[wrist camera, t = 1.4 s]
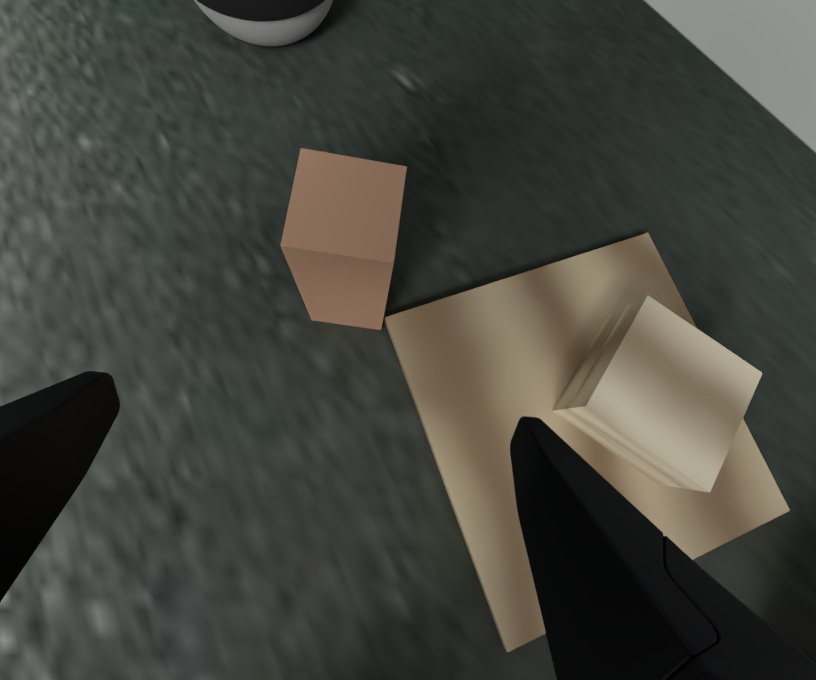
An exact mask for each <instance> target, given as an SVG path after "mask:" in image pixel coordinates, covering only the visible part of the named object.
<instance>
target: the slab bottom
mask: <svg viewBox="0 0 816 680" xmlns="http://www.w3.org/2000/svg"><path fill="white" fill-rule="evenodd" d="M625 308H626V306H625V307H623V308H621V309H619V310H617V311H615V312H613V313H611V314H609V315H608V316H607V318H606V320H605V321H604V323H603V325H602V326H601V328H600V330H599V332H598V333H597V335H596V337H595V338H594V340H593V342H592V344H591V345H590V347H589V349H588V351H587V352H586V354H585V356H584V357H583V359H582V361H581V363H580V364H579V366H578V368H577V369H576V371H575V373H574V375H573V376H572V378H571V380H570V382H569V383H568V385H567V387H566V388H565V390H564V392H563V394H562V395H561V397H560V399H559V401H558V402H557V404H556V406H555V407H554V409H553V412H555V413H556V414H558V415H559V416H561V417H562V418H563V419H565V420H566V421H568V422H569V423H571V424H572V425H573V426H575V427H576V428H578V429H579V430H581V431H582V432H583V433H585V434H586V435H588V436H589V437H591V438H592V439H593V440H595V441H596V442H598V443H599V444H601V445H602V446H603V447H605V448H606V449H608V450H609V451H611V452H612V453H613V454H615V455H616V456H618V457H619V458H621V459H622V460H623V461H625V462H626V463H628V464H629V465H630V466H632V467H633V468H635V469H636V470H638V471H639V472H640V473H642V474H643V475H645V476H646V477H648V478H649V479H650V480H652V481H653V482H655V483H656V484H658V485H665V486H671V487H677V488H681V487H679V486H678V485H676V484H675V483H674V482H672V481H671V480H669V479H668V478H666V477H665V476H663V475H662V474H661V473H659V472H658V471H656V470H655V469H653V468H652V467H651V466H649V465H648V464H646V463H645V462H643V461H642V460H641V459H639V458H638V457H636V456H635V455H633V454H632V453H631V452H629V451H628V450H626V449H625V448H623V447H622V446H621V445H619V444H618V443H616V442H615V441H613V440H612V439H611V438H609V437H608V436H606V435H605V434H603V433H602V432H601V431H599V430H598V429H596V428H595V427H593V426H592V425H591V424H589V423H588V422H586V421H585V420H583V419H582V418H581V417H579V416H578V415H576V414H575V413H573V412H572V411H571V410H569V409H568V408H569V406H570V404H571V402H572V401H573V399H574V397H575V395H576V394H577V392H578V390H579V388H580V387H581V385H582V383H583V381H584V379H585V378H586V376H587V374H588V372H589V371H590V369H591V367H592V365H593V364H594V362H595V360H596V358H597V357H598V355H599V353H600V351H601V350H602V348H603V346H604V344H605V343H606V341H607V339H608V337H609V336H610V334H611V332H612V330H613V329H614V327H615V325H616V323H617V322H618V320H619V318H620V316H621V315H622V313H623V311H624V309H625Z"/></svg>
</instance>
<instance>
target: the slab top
mask: <svg viewBox="0 0 816 680" xmlns="http://www.w3.org/2000/svg"><path fill="white" fill-rule="evenodd" d="M761 376H762V372H760V371H759V370H757V369H756V368H754V367H753V366H752V365H750V364H749V363H747V362H746V361H744V360H743V359H741V358H740V357H738V356H737V355H735V354H734V353H732V352H731V351H729V350H728V349H726V348H725V347H723V346H722V345H721V344H719V343H718V342H716V341H715V340H713V339H712V338H710V337H709V336H707V335H706V334H704V333H703V332H701V331H700V330H698V329H697V328H695V327H694V326H693V325H691V324H690V323H688V322H687V321H685V320H684V319H682V318H681V317H679V316H678V315H676V314H675V313H673V312H672V311H670V310H669V309H667V308H666V307H664V306H663V305H662V304H660V303H659V302H657V301H656V300H654V299H653V298H651V297H650V296H648V295H647V296H645V297H643V298H641V299H639V300H637V301H635V302H633V303H631V304H629V305H627V306H626V308H625V309H624V311H623V313H622V315H621V316H620V318H619V320H618V322H617V323H616V325H615V327H614V329H613V330H612V332H611V334H610V336H609V337H608V339H607V341H606V343H605V344H604V346H603V348H602V350H601V351H600V353H599V355H598V357H597V358H596V360H595V362H594V364H593V365H592V367H591V369H590V371H589V372H588V374H587V376H586V378H585V379H584V381H583V383H582V385H581V387H580V388H579V390H578V392H577V394H576V395H575V397H574V399H573V401H572V402H571V404H570V406H569V408H568V409H569V410H571V411H572V412H573V413H575V414H576V415H578V416H579V417H581V418H582V419H583V420H585V421H586V422H588V423H589V424H591V425H592V426H593V427H595V428H596V429H598V430H599V431H601V432H602V433H603V434H605V435H606V436H608V437H609V438H611V439H612V440H613V441H615V442H616V443H618V444H619V445H621V446H622V447H623V448H625V449H626V450H628V451H629V452H631V453H632V454H633V455H635V456H636V457H638V458H639V459H641V460H642V461H643V462H645V463H646V464H648V465H649V466H651V467H652V468H653V469H655V470H656V471H658V472H659V473H661V474H662V475H663V476H665V477H666V478H668V479H669V480H671V481H672V482H674V483H675V484H676V485H678V486H679V487H681V488H684V489H690V490H697V491H703V492H711V489H712V487H713V485H714V482H715V480H716V478H717V476H718V473H719V471H720V469H721V467H722V464H723V462H724V460H725V457H726V455H727V453H728V451H729V448H730V446H731V444H732V442H733V439H734V437H735V435H736V432H737V430H738V428H739V426H740V423H741V421H742V419H743V417H744V414H745V412H746V410H747V407H748V405H749V403H750V401H751V398H752V396H753V394H754V392H755V389H756V387H757V385H758V382H759V380H760V378H761Z"/></svg>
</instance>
